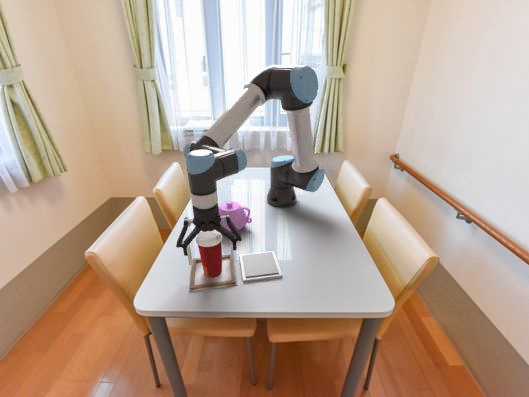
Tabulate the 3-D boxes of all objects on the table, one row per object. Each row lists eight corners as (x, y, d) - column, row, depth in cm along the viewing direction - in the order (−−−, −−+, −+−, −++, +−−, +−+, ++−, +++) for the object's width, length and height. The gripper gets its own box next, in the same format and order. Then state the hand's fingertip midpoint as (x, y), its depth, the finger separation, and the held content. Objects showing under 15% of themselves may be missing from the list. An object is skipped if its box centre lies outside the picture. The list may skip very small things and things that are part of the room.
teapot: (202, 235, 109) (198, 209, 103) (210, 217, 122) (208, 193, 116) (250, 237, 108) (249, 211, 102) (254, 219, 120) (253, 195, 115)
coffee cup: (229, 266, 92) (226, 230, 85) (217, 283, 85) (213, 245, 78) (208, 260, 95) (204, 225, 88) (195, 276, 88) (189, 239, 81)
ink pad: (274, 252, 99) (274, 249, 99) (282, 277, 88) (282, 274, 87) (239, 256, 97) (239, 253, 96) (243, 282, 86) (243, 279, 85)
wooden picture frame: (233, 255, 98) (233, 253, 97) (237, 285, 84) (237, 282, 84) (192, 260, 95) (191, 257, 95) (189, 291, 82) (188, 289, 82)
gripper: (246, 194, 83) (248, 248, 93) (163, 201, 79) (174, 256, 89) (249, 205, 76) (250, 262, 86) (158, 213, 73) (171, 272, 82)
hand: (211, 259), depth 87 cm, fingers open, 13 cm apart
